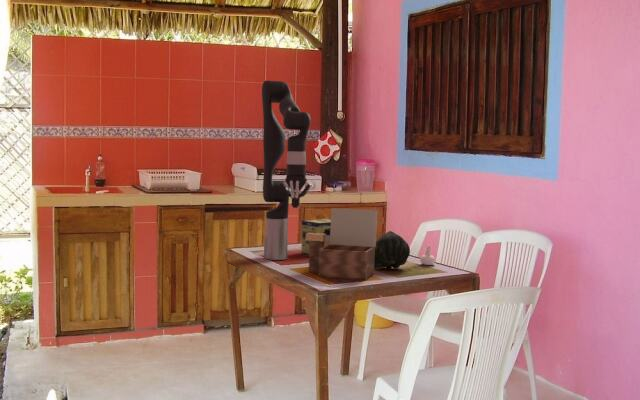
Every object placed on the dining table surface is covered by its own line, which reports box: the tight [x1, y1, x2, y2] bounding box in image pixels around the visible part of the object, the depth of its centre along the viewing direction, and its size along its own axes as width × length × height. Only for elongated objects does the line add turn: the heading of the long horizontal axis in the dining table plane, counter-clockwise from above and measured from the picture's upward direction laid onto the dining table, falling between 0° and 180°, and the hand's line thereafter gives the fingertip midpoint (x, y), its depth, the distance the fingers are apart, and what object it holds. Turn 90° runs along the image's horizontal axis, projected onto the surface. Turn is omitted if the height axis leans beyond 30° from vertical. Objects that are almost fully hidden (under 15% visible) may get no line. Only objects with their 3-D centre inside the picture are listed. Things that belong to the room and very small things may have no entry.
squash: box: [374, 230, 411, 270], centre depth 282 cm, size 14×15×15 cm
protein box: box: [301, 218, 331, 256], centre depth 314 cm, size 10×16×16 cm
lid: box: [330, 207, 378, 247], centre depth 274 cm, size 18×14×1 cm
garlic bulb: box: [419, 245, 436, 266], centre depth 297 cm, size 6×6×8 cm
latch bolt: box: [306, 233, 326, 241], centre depth 273 cm, size 7×4×2 cm, turn 73°
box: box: [308, 241, 375, 281], centre depth 268 cm, size 24×14×12 cm, turn 73°
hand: (295, 207), depth 274 cm, fingers closed
